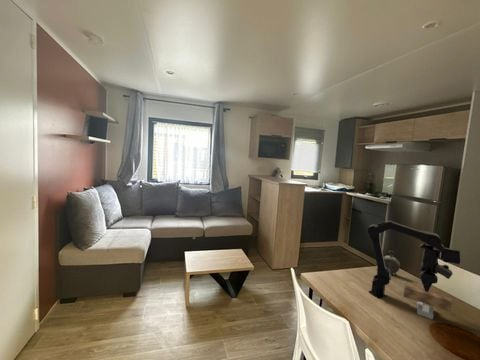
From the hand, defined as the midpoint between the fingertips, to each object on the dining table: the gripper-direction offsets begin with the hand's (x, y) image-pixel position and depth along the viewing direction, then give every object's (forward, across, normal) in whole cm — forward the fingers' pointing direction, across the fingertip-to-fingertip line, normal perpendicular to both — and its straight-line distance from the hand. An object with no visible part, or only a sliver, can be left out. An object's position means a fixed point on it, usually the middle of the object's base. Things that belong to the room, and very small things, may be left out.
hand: (426, 287), depth 113 cm
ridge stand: (+12, -1, 0) cm, 12 cm away
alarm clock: (+12, +35, +18) cm, 41 cm away
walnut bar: (+7, -1, 0) cm, 7 cm away
